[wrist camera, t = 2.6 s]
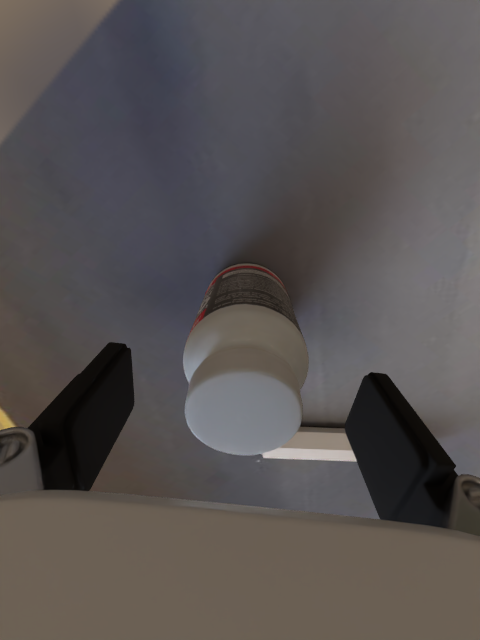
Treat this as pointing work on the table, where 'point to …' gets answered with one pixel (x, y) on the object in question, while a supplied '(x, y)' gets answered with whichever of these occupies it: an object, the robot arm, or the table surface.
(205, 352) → the pill bottle
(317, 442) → the white pencil
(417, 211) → the table surface
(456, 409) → the table surface
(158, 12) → the table surface
